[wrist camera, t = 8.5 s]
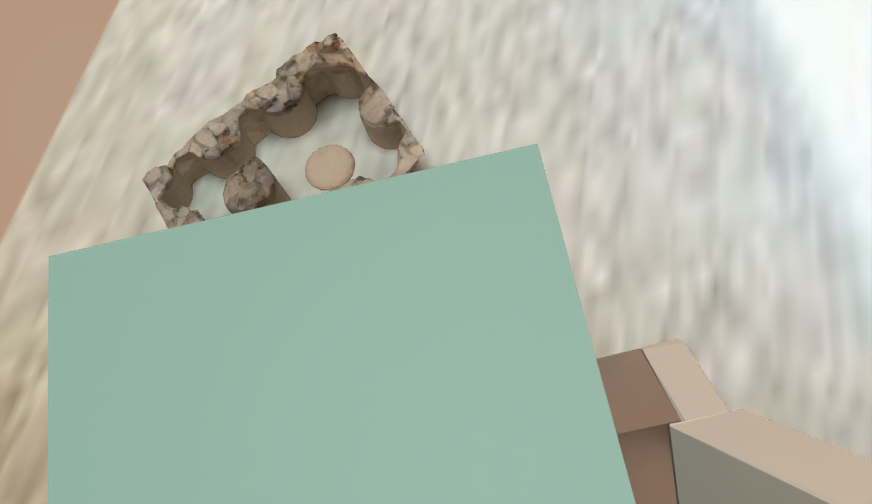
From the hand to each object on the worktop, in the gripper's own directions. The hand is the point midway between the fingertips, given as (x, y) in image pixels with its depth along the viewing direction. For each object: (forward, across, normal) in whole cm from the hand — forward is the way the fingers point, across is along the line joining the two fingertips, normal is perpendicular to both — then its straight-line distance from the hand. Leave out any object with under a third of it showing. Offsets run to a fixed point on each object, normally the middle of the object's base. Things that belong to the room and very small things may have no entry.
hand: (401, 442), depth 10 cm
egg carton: (+24, +6, +4) cm, 25 cm away
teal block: (+4, 0, +4) cm, 6 cm away
